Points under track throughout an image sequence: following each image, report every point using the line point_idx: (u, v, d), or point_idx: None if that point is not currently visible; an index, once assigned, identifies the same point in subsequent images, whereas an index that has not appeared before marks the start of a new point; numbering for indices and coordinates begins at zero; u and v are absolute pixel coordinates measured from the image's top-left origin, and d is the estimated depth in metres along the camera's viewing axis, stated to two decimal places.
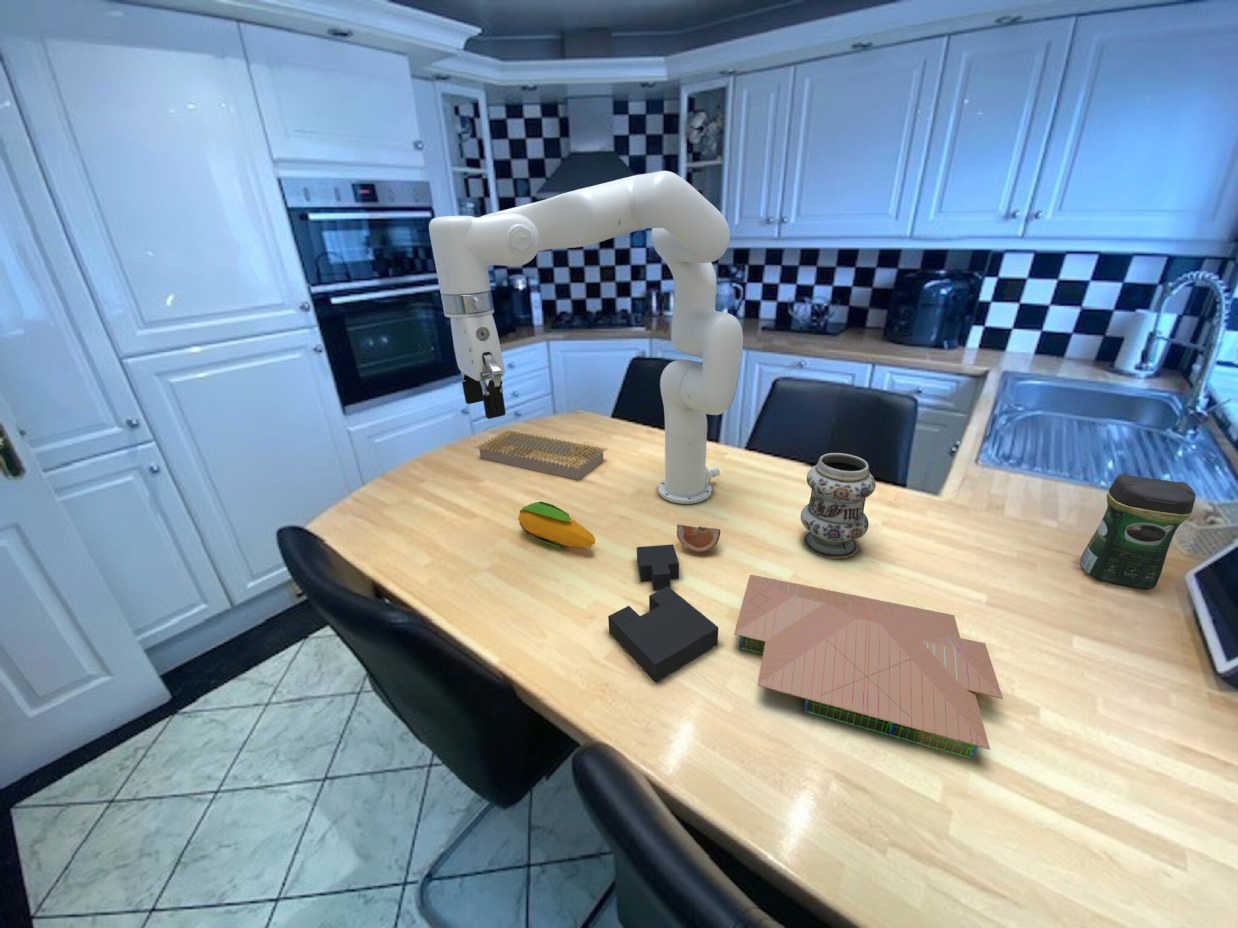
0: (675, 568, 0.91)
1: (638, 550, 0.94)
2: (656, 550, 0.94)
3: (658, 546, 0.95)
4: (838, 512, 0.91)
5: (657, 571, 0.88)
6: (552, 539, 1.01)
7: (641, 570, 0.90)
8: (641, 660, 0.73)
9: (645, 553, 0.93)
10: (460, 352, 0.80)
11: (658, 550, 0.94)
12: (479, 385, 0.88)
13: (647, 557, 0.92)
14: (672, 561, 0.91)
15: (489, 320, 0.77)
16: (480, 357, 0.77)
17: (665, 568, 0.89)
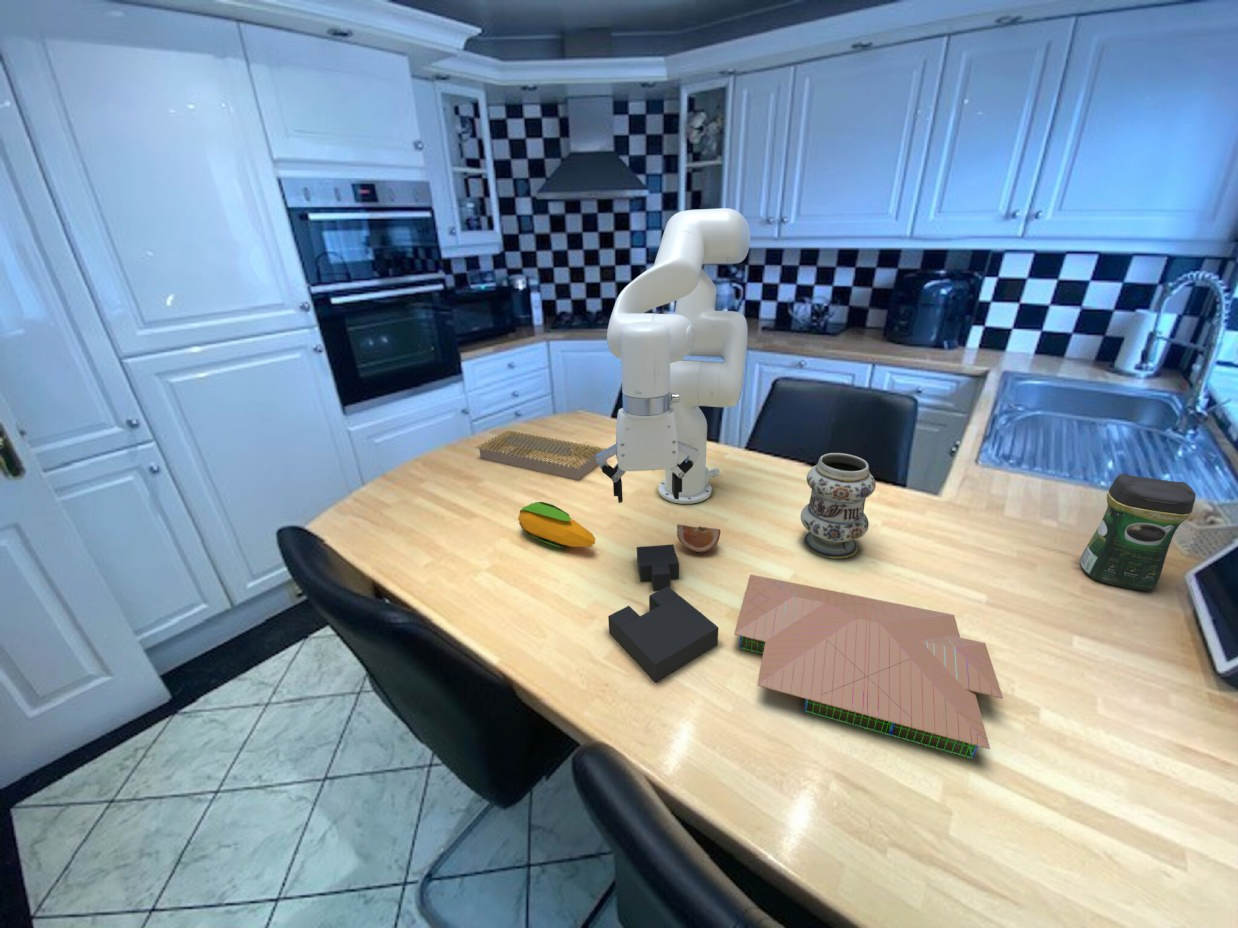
0: (675, 568, 0.91)
1: (638, 550, 0.94)
2: (656, 550, 0.94)
3: (658, 546, 0.95)
4: (838, 512, 0.91)
5: (657, 571, 0.88)
6: (552, 539, 1.01)
7: (641, 570, 0.90)
8: (641, 660, 0.73)
9: (645, 553, 0.93)
10: (647, 449, 0.81)
11: (658, 550, 0.94)
12: None
13: (647, 557, 0.92)
14: (672, 561, 0.91)
15: None
16: (677, 445, 0.83)
17: (665, 568, 0.89)
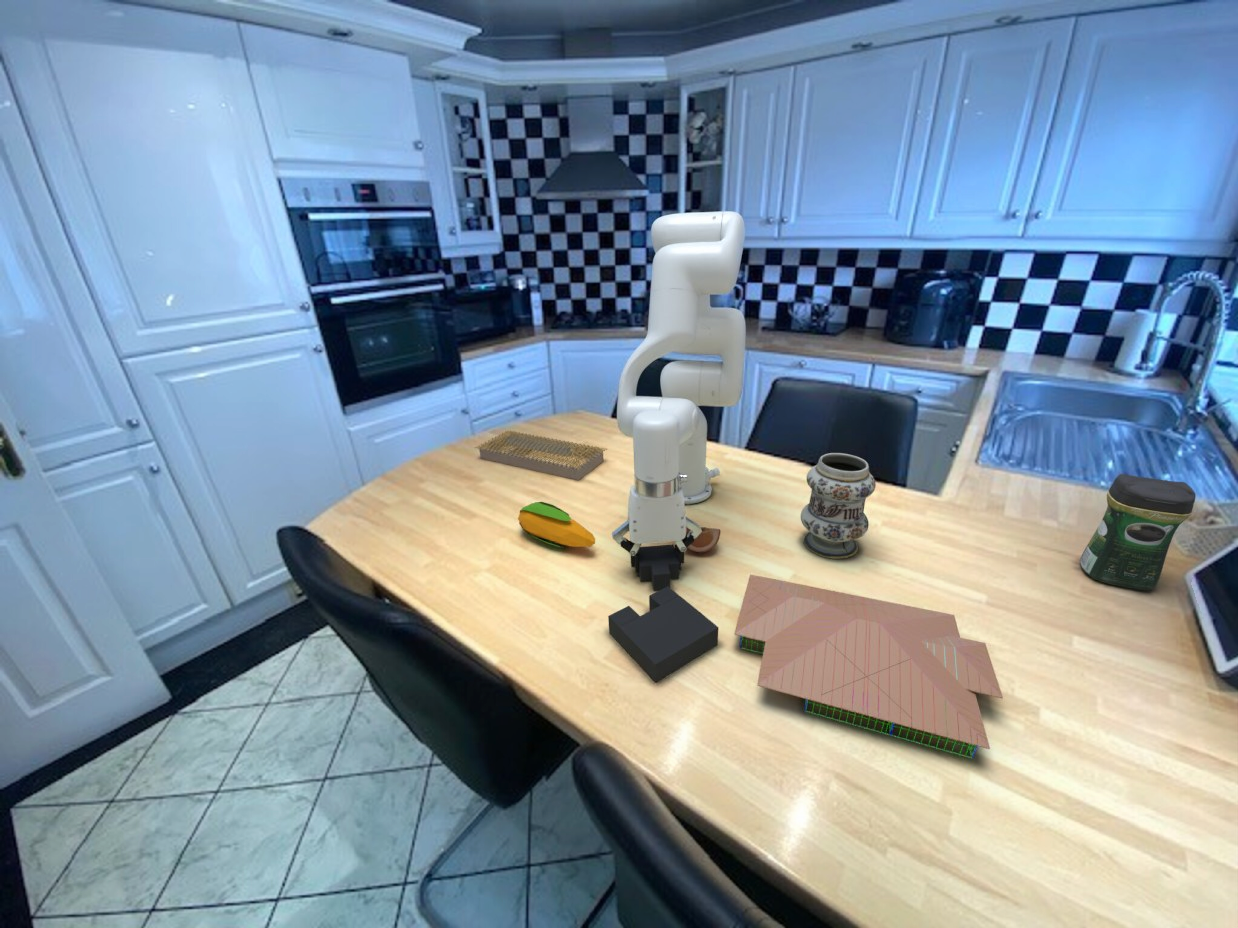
0: (674, 568, 0.91)
1: (638, 550, 0.94)
2: (656, 550, 0.94)
3: (658, 546, 0.95)
4: (838, 512, 0.91)
5: (657, 571, 0.88)
6: (552, 539, 1.01)
7: (641, 570, 0.90)
8: (641, 660, 0.73)
9: (645, 553, 0.93)
10: (658, 525, 0.87)
11: (658, 550, 0.94)
12: None
13: (647, 557, 0.92)
14: (672, 561, 0.91)
15: None
16: (685, 519, 0.89)
17: (665, 568, 0.89)
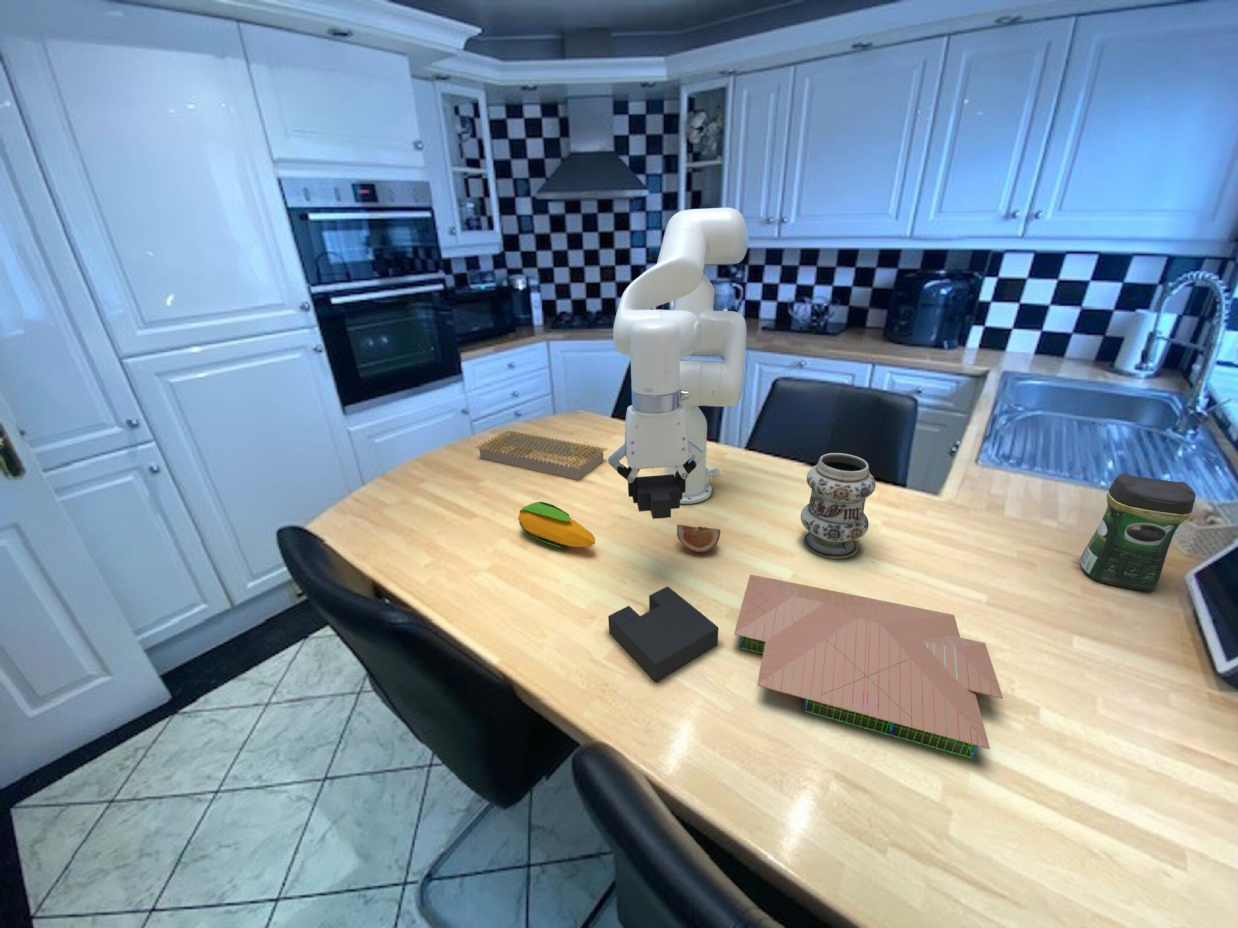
0: (675, 496, 0.84)
1: None
2: (655, 479, 0.88)
3: (657, 476, 0.89)
4: (838, 512, 0.91)
5: (657, 497, 0.82)
6: (552, 539, 1.01)
7: (639, 498, 0.84)
8: (641, 660, 0.73)
9: (644, 482, 0.87)
10: (657, 447, 0.81)
11: (657, 479, 0.88)
12: None
13: (646, 485, 0.86)
14: (673, 488, 0.85)
15: None
16: (687, 442, 0.83)
17: (665, 495, 0.83)
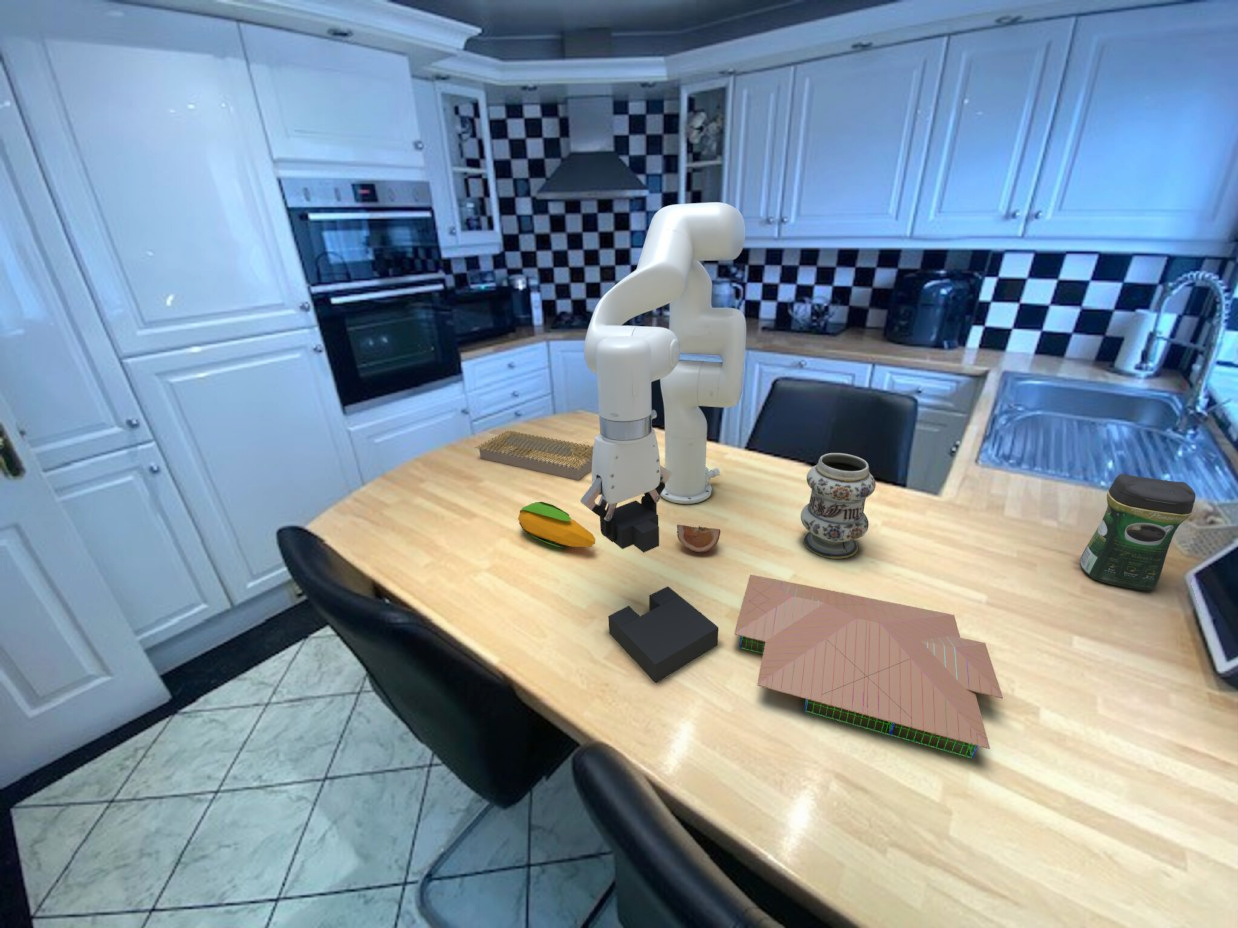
0: (654, 522, 0.79)
1: None
2: (624, 510, 0.80)
3: (622, 506, 0.82)
4: (838, 512, 0.91)
5: (644, 528, 0.75)
6: (552, 539, 1.01)
7: (623, 534, 0.76)
8: (641, 660, 0.73)
9: (616, 516, 0.79)
10: (636, 474, 0.74)
11: (625, 509, 0.81)
12: None
13: (621, 519, 0.78)
14: (650, 515, 0.79)
15: None
16: None
17: (649, 523, 0.77)
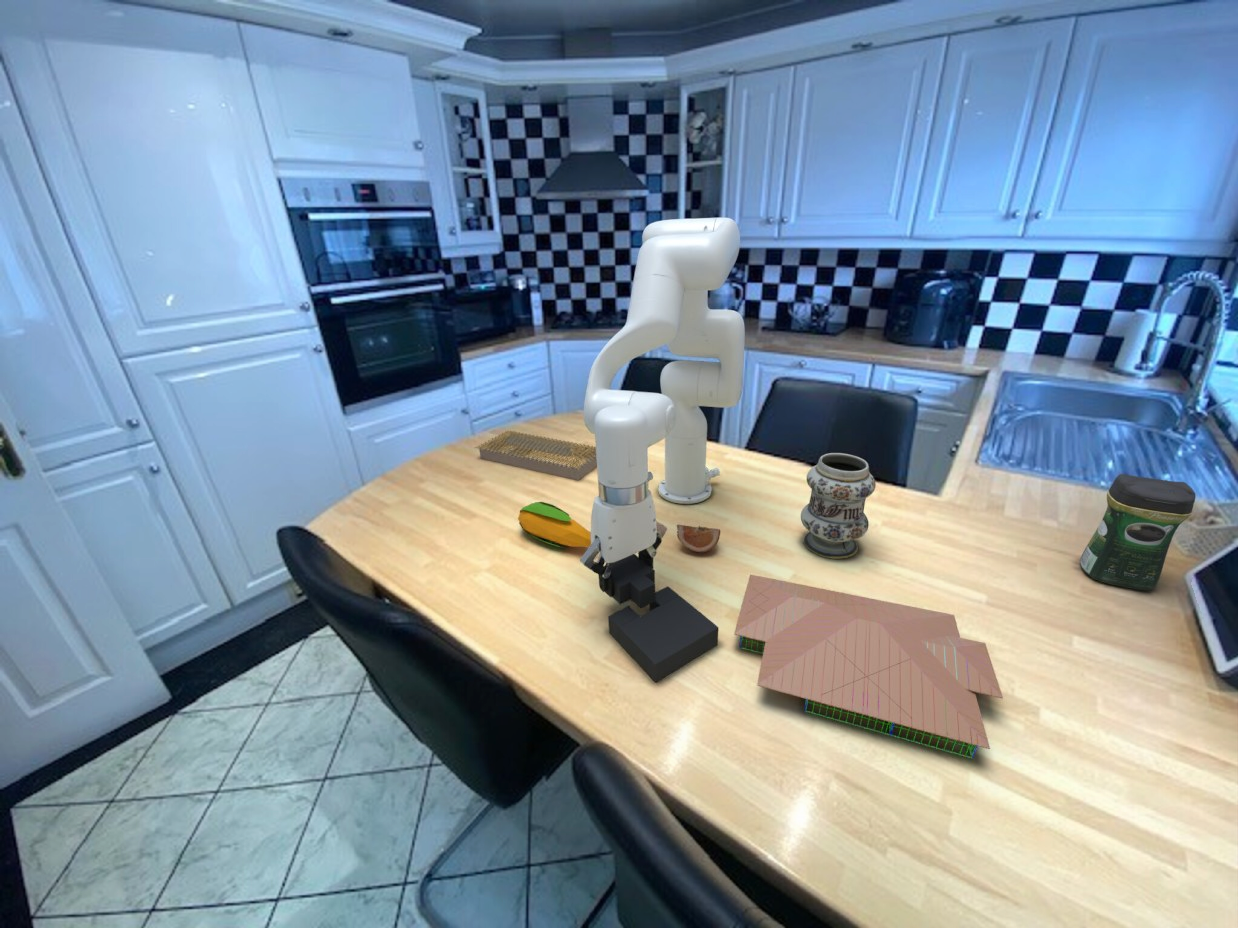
0: (651, 577, 0.82)
1: None
2: (622, 565, 0.83)
3: (620, 560, 0.85)
4: (838, 512, 0.91)
5: (641, 585, 0.78)
6: (552, 539, 1.01)
7: (620, 591, 0.79)
8: (641, 660, 0.73)
9: (614, 572, 0.82)
10: (633, 535, 0.77)
11: (623, 564, 0.84)
12: None
13: (619, 575, 0.81)
14: (647, 570, 0.82)
15: None
16: None
17: (646, 580, 0.80)
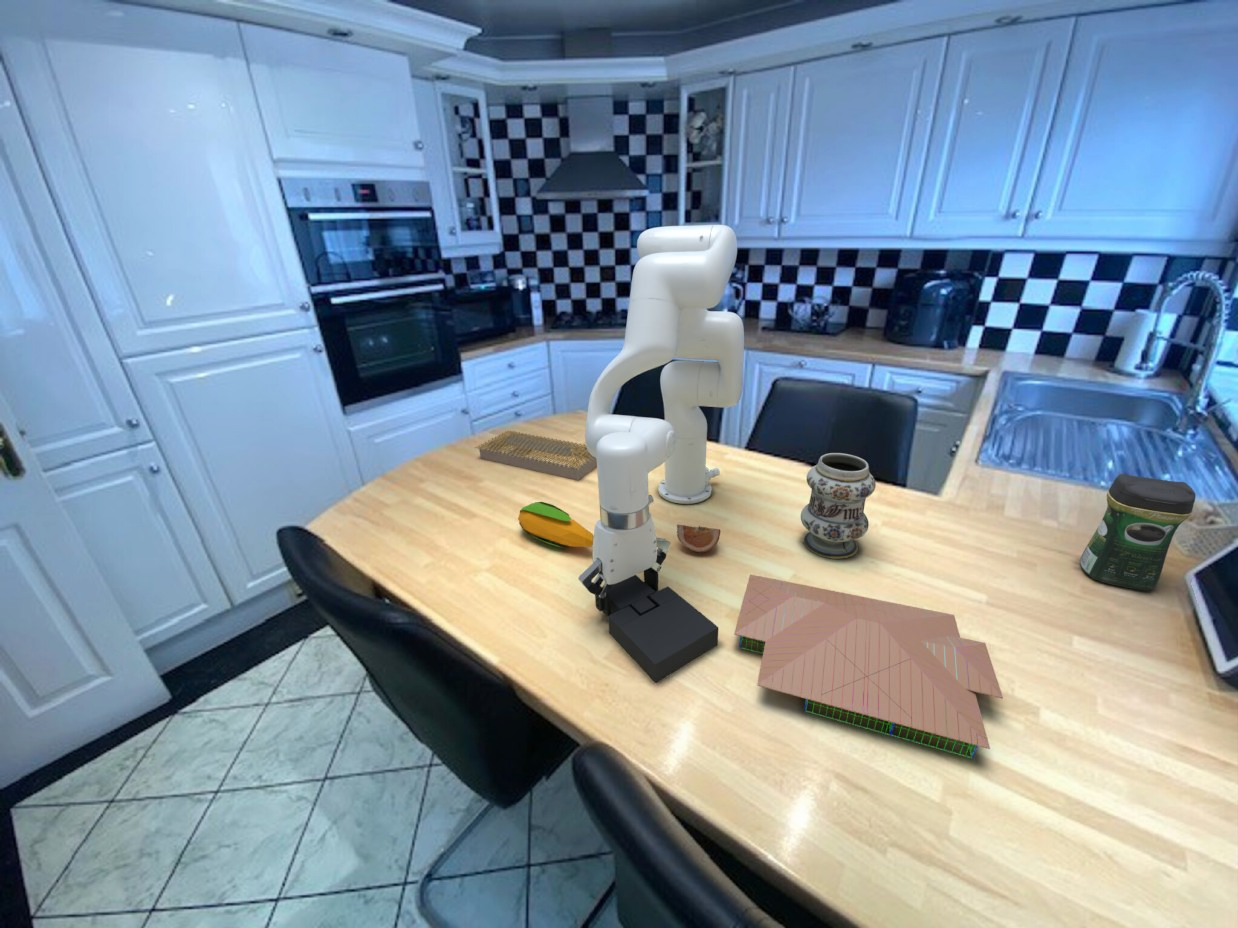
0: None
1: None
2: (623, 585, 0.85)
3: (621, 581, 0.86)
4: (838, 512, 0.91)
5: (642, 607, 0.80)
6: (552, 539, 1.01)
7: None
8: (641, 660, 0.73)
9: (615, 593, 0.84)
10: (634, 557, 0.79)
11: (624, 584, 0.85)
12: None
13: (620, 596, 0.83)
14: (647, 591, 0.84)
15: None
16: None
17: (647, 601, 0.81)
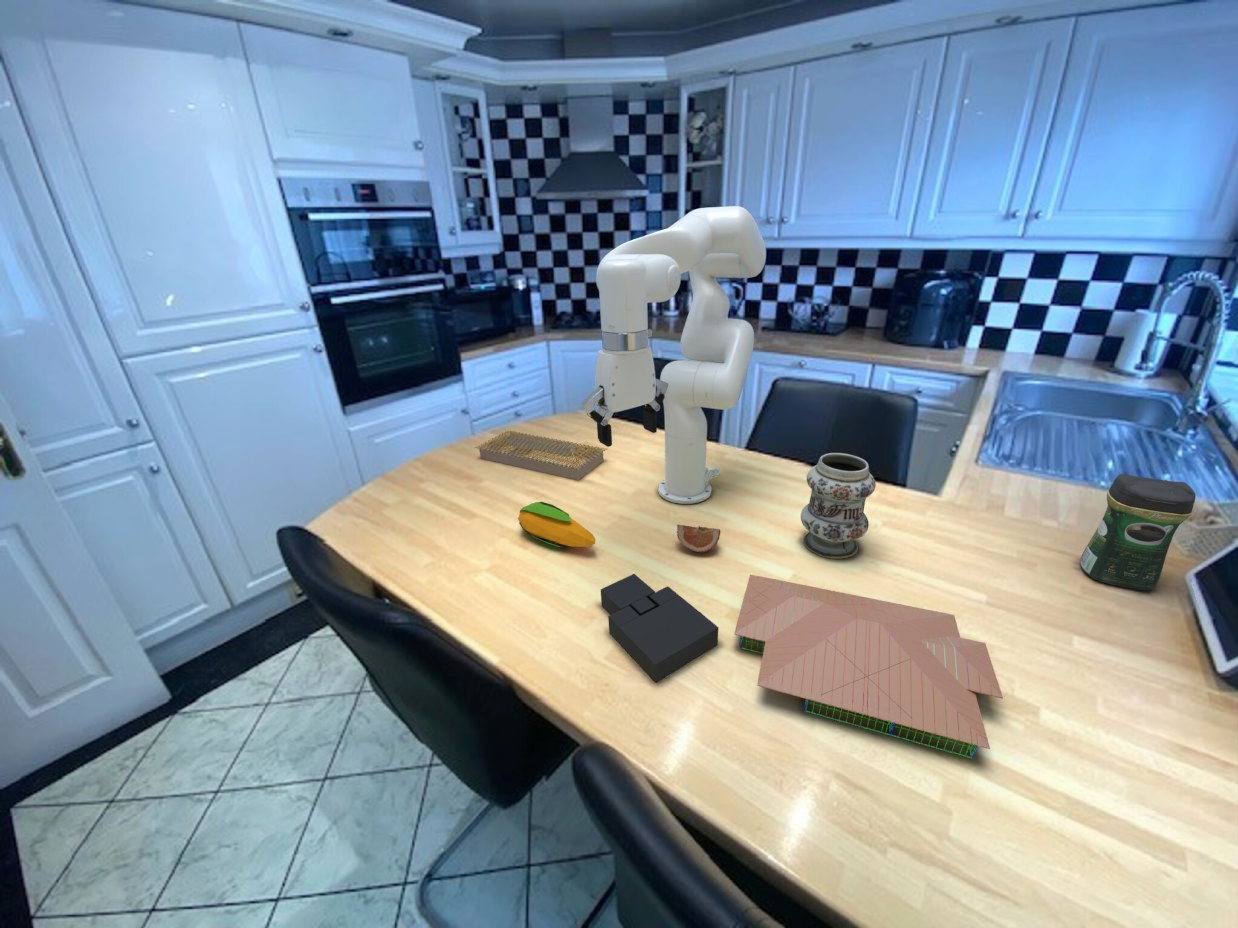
0: None
1: (605, 592, 0.84)
2: (623, 585, 0.85)
3: (621, 581, 0.86)
4: (838, 512, 0.91)
5: (642, 607, 0.80)
6: (552, 539, 1.01)
7: None
8: (641, 660, 0.73)
9: (615, 593, 0.84)
10: (634, 385, 0.84)
11: (624, 584, 0.85)
12: None
13: (620, 596, 0.83)
14: (647, 591, 0.84)
15: None
16: None
17: (647, 601, 0.81)
